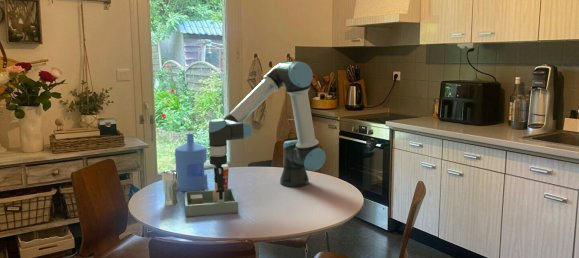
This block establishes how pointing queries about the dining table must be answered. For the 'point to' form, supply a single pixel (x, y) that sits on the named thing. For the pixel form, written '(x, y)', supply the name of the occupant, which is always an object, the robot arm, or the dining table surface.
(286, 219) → the dining table surface
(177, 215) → the dining table surface
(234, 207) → the tote
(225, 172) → the paper cup
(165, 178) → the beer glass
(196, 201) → the walnut cube
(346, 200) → the dining table surface
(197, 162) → the water jug
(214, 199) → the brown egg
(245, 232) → the dining table surface
